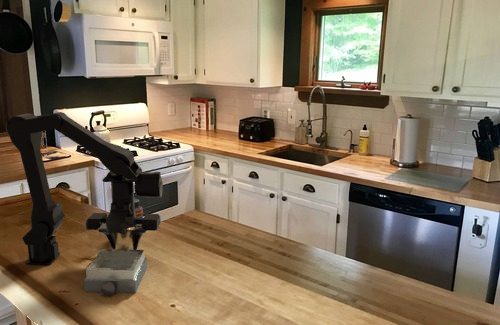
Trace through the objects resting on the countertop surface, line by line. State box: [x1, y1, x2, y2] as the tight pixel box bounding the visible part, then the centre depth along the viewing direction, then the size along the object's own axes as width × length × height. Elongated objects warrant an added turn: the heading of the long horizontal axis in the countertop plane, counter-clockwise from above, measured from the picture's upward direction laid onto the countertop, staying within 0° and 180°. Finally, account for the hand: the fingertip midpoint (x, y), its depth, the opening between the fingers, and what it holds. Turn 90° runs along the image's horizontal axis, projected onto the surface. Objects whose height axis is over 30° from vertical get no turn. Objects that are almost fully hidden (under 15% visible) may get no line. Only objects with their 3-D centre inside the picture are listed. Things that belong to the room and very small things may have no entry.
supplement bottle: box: [134, 198, 144, 235], centre depth 128 cm, size 6×6×11 cm
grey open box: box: [83, 248, 148, 297], centre depth 101 cm, size 12×14×6 cm
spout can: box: [115, 227, 135, 250], centre depth 112 cm, size 5×6×11 cm
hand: (125, 250), depth 112 cm, fingers closed on spout can, 5 cm apart
